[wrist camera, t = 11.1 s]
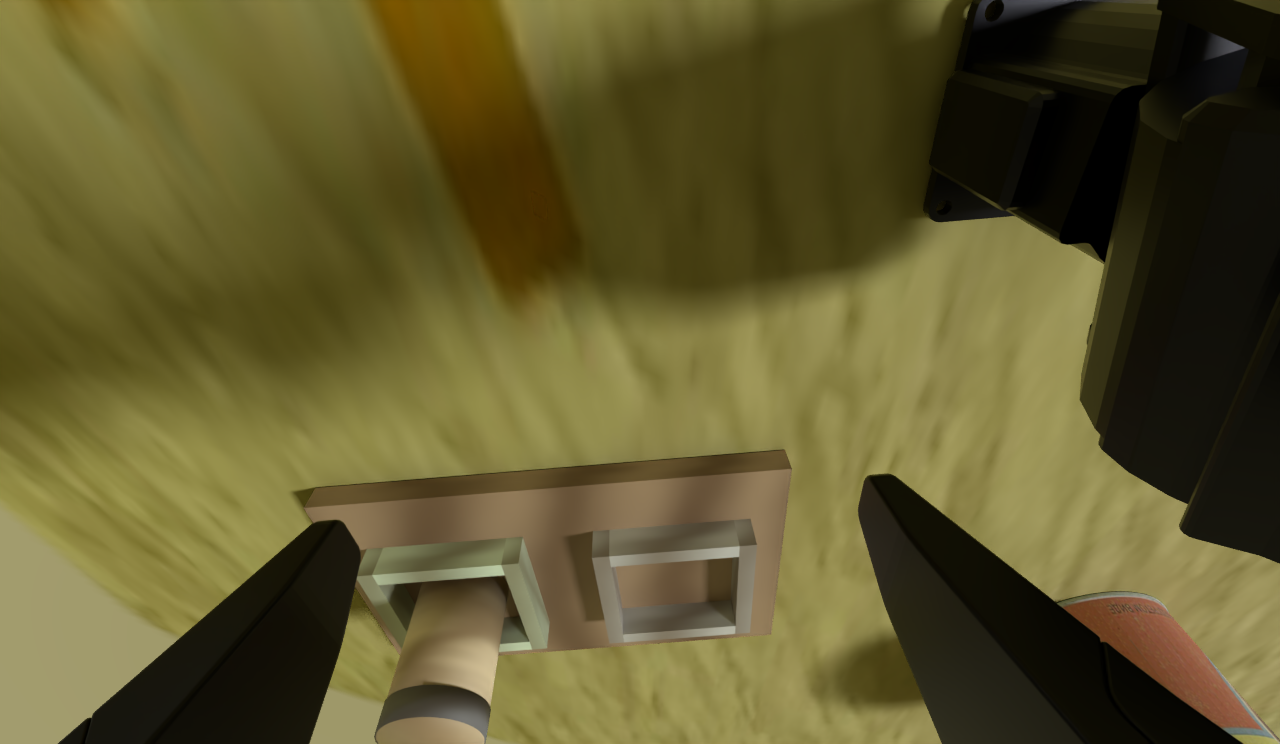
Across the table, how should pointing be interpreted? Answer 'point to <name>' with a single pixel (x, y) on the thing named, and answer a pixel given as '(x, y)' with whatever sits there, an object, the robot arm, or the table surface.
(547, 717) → the table surface
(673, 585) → the board
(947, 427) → the table surface
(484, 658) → the cylinder
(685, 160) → the table surface
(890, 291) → the table surface
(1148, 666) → the canned food
